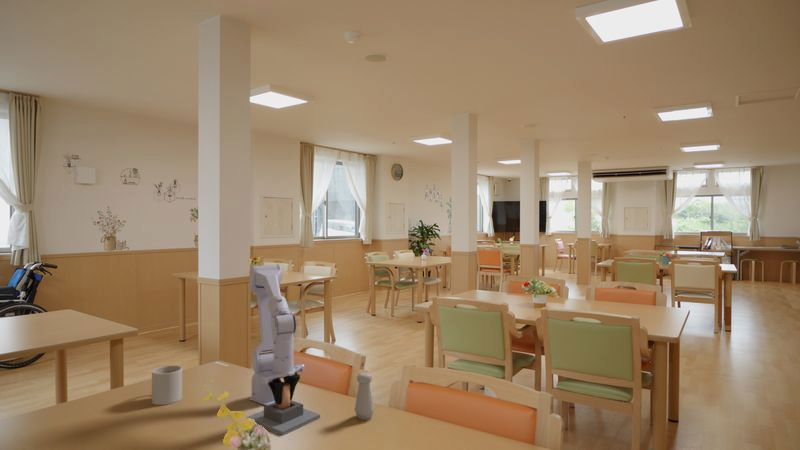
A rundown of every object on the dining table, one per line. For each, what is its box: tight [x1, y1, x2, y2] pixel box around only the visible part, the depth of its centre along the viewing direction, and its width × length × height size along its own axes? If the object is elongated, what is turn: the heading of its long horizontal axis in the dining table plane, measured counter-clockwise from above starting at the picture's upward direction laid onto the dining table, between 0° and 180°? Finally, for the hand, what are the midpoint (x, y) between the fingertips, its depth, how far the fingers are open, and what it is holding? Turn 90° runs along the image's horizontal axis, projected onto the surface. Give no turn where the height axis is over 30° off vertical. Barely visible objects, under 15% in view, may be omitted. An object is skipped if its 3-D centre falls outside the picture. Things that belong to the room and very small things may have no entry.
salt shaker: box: [354, 371, 375, 421], centre depth 135 cm, size 6×6×13 cm
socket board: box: [246, 399, 321, 436], centre depth 134 cm, size 16×14×4 cm
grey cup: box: [151, 364, 183, 406], centre depth 150 cm, size 11×10×10 cm
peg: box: [278, 383, 290, 410], centre depth 134 cm, size 4×4×8 cm
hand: (283, 401), depth 134 cm, fingers closed on peg, 3 cm apart
